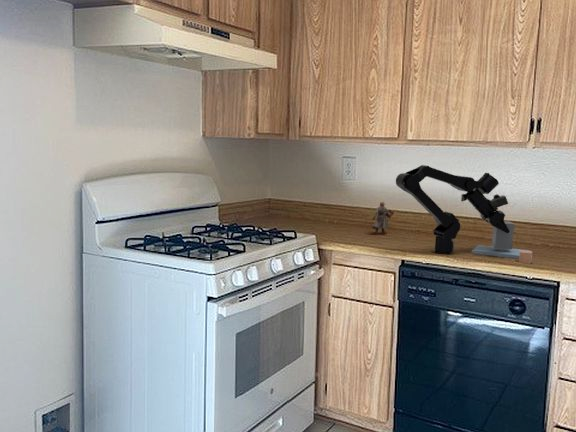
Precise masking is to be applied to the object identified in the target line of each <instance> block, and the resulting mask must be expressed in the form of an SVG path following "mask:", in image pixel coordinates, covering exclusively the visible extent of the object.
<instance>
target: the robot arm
mask: <svg viewBox="0 0 576 432" xmlns="http://www.w3.org/2000/svg"><path fill="white" fill-rule="evenodd" d="M426 177H427V178H430V179H432V180H436V181H439V182H443V183H445V184H448V185H449V186H451V187H452V188H453V189H456V190H458V191H461V192H465V193H463V194H461V199H460V200H461V202H465V201H466V200H467V201H468V202H469V204H471V206H472V207H474V209H475V210H476V211H477V212H478V213H479V214H480V218H481V219H482V220H483V221H485V222H486V223H488V224H489V225H490V226H492V227H493V226H494V227H496V228H498V229H500V230H502V231H504V232H506V233H509V232H510V231H509V229H508V228H507V226H506V224H505V222H504V221H505V217H506V214H505V213H504V212H503V210H500V209H499V208H500V207H503V206H506V205H509V202H508V199H507V196H506V195H499V194H494V195H493V198H492V199H489V198H487V197H486V196H485V194H486V195H489V194H490V193H491V192H492V191H493V190H494V189H495V188H496V187H497V186H499V181H498V179H497V178H496V177H494V176H493V175H491V174H490V173H489V172H485V173H484V174H483V175H482V176H481V177H480V178H479V179H478V180H475V179H474V178H473V177H471V176H464V175H463V176H462V175H456V174H451V173H449V172H446V171H442V170H440V169H436V168H433V167H431V166H429V165H426V164H425V165H424V164H421V165H419V166H418V167H416V168H413V169H411V170H409V171H407V172H402V173H399V174H398V175H397V176H396V179H395V184H396V186H397V187H398V188H399V189H401V190H402V191H404V192H406V193H408V194H409V195H411V197H412V198H413V199H415V200H416V201H417V202H418V203H419V204H420V205H421V206H422V208H424V209H425V210H426V212H428V213H429V214H430V215H431V216H432V218H433V219H434V220H435V223H436V225H437V226H436V227H435V228H434V229H433V230H432V232H433V235H434V236H435V242H434V250H433V253H435V254H436V253H437V254H445V255H451V254H453V253H454V252H455V240H454V239H456V238H457V235H458V233H459V232H460V229H461V223H460V222H459V221H460V219H458V218H457V217H456V216H455V214H454V213H452V212H449V211H443V210H442V209H441V207H440V206H439V205H438V204H437V203H436V202H435V201H434V200H433V199H432V198H431V197H430V196H429V195H428V194H427V193H426V192H425V191H424V190H423V189H422V187H421V184H420V183H421V182H422V181H423V180H424V179H425V178H426Z"/></svg>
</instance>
